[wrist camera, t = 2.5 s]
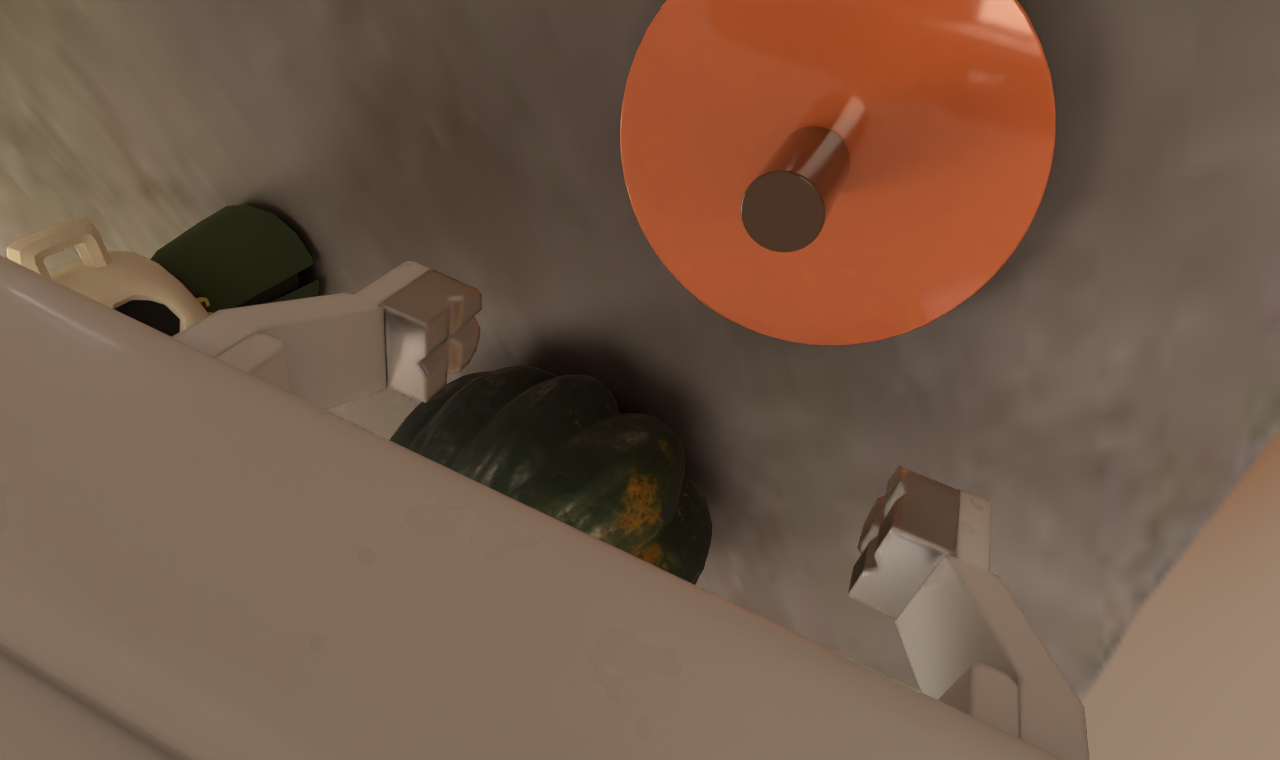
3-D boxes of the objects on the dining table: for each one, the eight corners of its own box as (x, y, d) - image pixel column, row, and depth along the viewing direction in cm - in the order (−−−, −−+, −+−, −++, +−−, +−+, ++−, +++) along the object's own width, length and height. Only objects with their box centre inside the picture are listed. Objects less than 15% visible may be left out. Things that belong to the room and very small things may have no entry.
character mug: (355, 357, 40) (145, 517, 30) (255, 330, 42) (30, 472, 32) (304, 163, 34) (17, 285, 24) (190, 142, 36) (-116, 247, 26)
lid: (627, 288, 31) (566, 358, 26) (637, -104, 22) (551, -97, 18) (973, 367, 27) (968, 464, 22) (1137, -74, 18) (1179, -56, 14)
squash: (752, 685, 33) (537, 788, 21) (509, 647, 41) (248, 705, 29) (748, 380, 36) (554, 308, 23) (519, 400, 44) (283, 355, 31)
